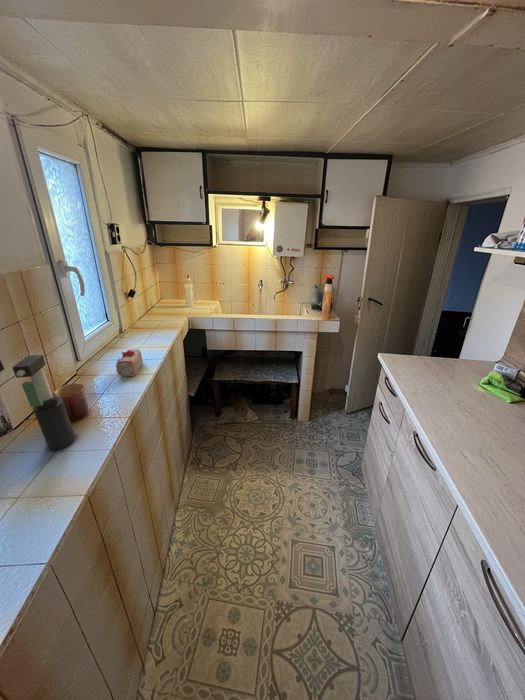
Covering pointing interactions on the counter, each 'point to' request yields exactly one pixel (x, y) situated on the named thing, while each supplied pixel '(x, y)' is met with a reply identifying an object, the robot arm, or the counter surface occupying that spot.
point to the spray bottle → (47, 405)
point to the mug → (73, 400)
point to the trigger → (32, 393)
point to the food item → (129, 363)
